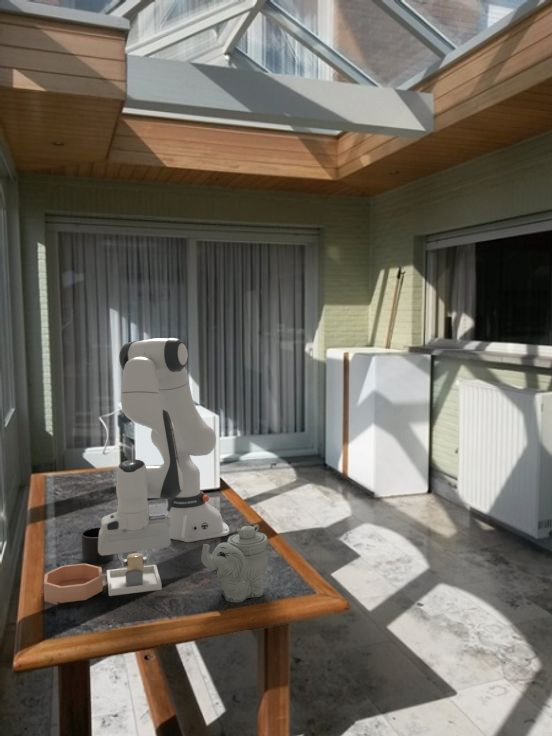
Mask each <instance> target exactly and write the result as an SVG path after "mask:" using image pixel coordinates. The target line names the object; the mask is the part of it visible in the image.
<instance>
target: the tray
mask: <svg viewBox="0 0 552 736" xmlns="http://www.w3.org/2000/svg"><path fill="white" fill-rule="evenodd" d="M126 572H127V567H123V568H122V567H121V568H116V569H106V579H107V580H106V581H107V590H108V597H113V596H121V595H129V594H137V593H144V592H145V593H146V592H152V591H160V590H161V591H162V589H163V587H162V580H161V578H160V573H159V570H158V566H157V564H147V565H144V570H143V585H140V586H131V587H126Z"/></svg>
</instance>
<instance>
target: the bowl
mask: <svg viewBox="0 0 552 736" xmlns="http://www.w3.org/2000/svg"><path fill="white" fill-rule="evenodd" d="M43 577H44V579H43V599H44V600H43V602H45V603H49V604H51V605H55V606H58V603H60V604H63V603H72V602H77V601H78V602H80V601H86V600H88V599H90V598H92V597H95V595H97V594H99V593H102V591H103V590H104V589H103V569H102V566H97V565H94V564H88V563H77V564H68V565H67V564H66V565H61V566H59V567H57V568H55V569H52V570H50V571H48V572H46V573H44V576H43Z"/></svg>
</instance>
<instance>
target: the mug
mask: <svg viewBox="0 0 552 736" xmlns="http://www.w3.org/2000/svg"><path fill="white" fill-rule="evenodd" d="M101 527H102V526H100V527H92V528H89V529H85V530H84V531H83V532H81V534H80V535H81V538H80V539H81V560H82V562H83V563H84V564H89V565H97V564H100V565H101V564H104V563H108V562H110V561H111V560H113V559H114V558H115V557H114V556H115V554H110V555H100V554H99V553H98V536H99V531H100V529H101Z"/></svg>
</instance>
